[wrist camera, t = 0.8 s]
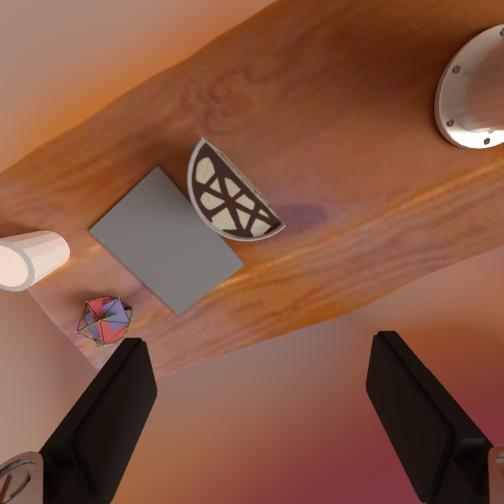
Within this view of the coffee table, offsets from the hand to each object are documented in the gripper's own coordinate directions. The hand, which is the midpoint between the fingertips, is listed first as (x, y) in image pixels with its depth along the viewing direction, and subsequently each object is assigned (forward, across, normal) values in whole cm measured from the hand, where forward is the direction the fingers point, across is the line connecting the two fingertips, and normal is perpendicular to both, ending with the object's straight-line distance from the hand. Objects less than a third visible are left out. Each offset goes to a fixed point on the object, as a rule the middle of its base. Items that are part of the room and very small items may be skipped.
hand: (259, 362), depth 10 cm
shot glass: (+26, +31, +3) cm, 40 cm away
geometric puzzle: (+26, +23, +13) cm, 37 cm away
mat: (+26, +13, +3) cm, 29 cm away
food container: (+26, +3, -4) cm, 27 cm away
